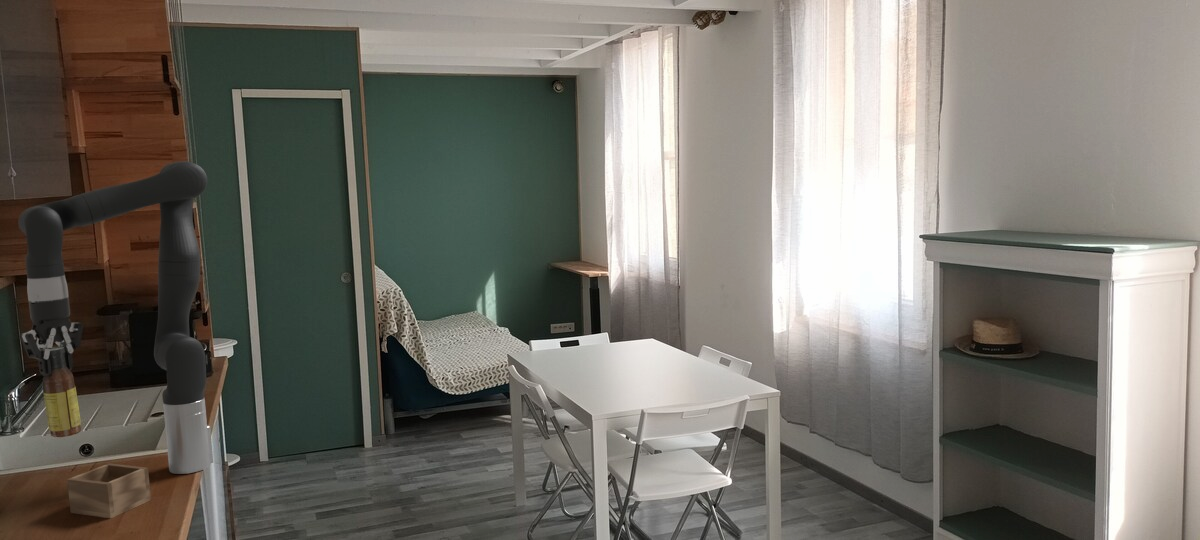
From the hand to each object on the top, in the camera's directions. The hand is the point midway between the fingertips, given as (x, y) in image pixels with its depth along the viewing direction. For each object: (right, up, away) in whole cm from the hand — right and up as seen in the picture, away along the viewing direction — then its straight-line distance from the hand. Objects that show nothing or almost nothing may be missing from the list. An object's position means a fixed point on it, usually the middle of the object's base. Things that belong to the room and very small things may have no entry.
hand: (57, 372), depth 194 cm
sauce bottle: (+1, -14, +2) cm, 15 cm away
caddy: (+14, -29, -3) cm, 32 cm away
